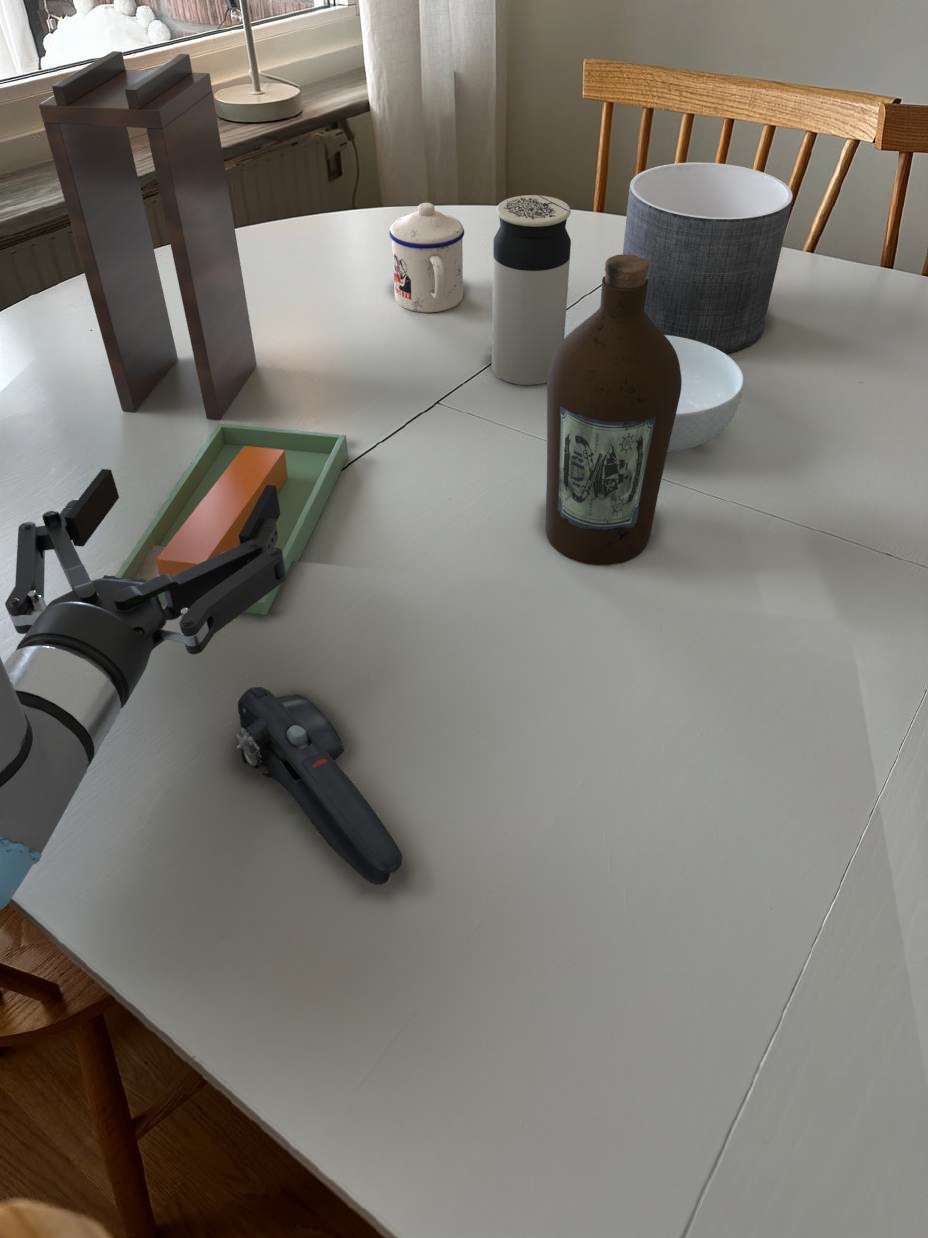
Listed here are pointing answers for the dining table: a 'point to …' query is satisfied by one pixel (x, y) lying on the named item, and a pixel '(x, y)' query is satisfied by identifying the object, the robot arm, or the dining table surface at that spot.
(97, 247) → the tall brown stand
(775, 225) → the planter
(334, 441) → the tray
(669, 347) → the olive oil
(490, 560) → the dining table surface
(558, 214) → the travel mug
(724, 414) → the cereal bowl
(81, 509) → the robot arm
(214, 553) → the orange rectangular bar
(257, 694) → the can opener
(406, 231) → the teacup with lid
